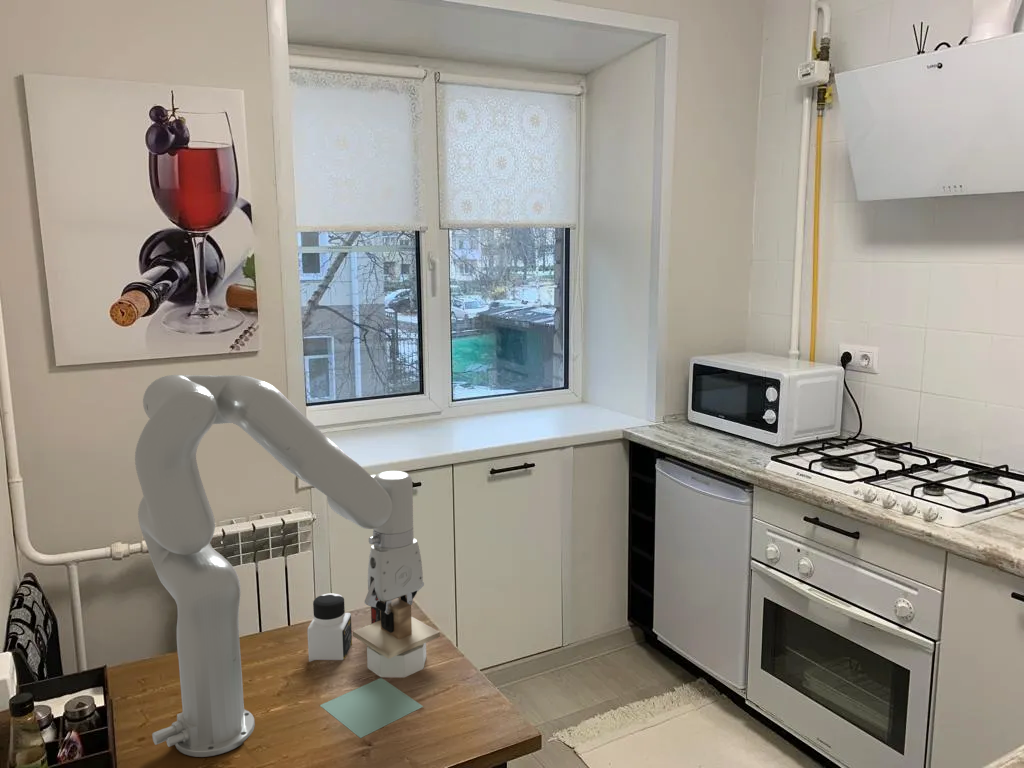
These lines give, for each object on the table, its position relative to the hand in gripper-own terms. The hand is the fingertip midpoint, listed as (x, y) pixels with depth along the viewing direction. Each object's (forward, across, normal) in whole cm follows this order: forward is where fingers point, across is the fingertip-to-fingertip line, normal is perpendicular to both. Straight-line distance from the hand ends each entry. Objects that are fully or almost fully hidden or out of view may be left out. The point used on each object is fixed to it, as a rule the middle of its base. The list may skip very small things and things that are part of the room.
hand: (395, 626), depth 151 cm
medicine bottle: (+9, -7, +13) cm, 17 cm away
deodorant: (+8, +5, +11) cm, 15 cm away
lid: (+2, 0, 0) cm, 2 cm away
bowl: (+8, 0, 0) cm, 8 cm away
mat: (+8, -12, -9) cm, 17 cm away
